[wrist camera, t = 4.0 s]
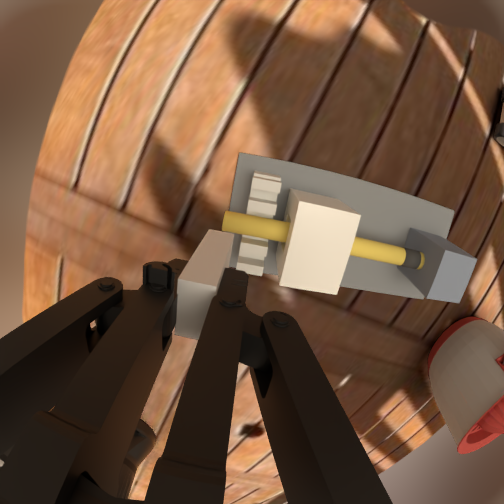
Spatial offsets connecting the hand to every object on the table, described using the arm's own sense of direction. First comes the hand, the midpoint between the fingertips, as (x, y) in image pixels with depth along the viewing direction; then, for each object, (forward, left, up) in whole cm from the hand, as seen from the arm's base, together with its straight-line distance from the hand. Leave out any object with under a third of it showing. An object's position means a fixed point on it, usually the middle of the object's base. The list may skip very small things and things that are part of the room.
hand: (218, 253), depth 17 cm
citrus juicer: (+37, -13, -13) cm, 42 cm away
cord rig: (+12, 0, -13) cm, 18 cm away
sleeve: (+7, 0, -12) cm, 14 cm away
